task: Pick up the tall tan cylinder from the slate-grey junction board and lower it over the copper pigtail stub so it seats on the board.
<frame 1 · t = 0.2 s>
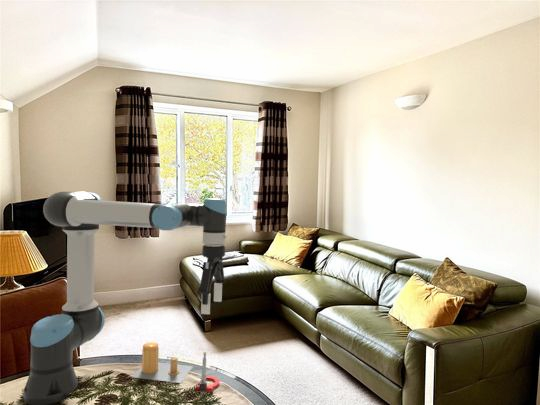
hand: (211, 307, 124), 28 cm above the table, fingers open, 13 cm apart
junction board: (163, 375, 131), on the table
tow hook: (206, 385, 126), on the table
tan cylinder: (149, 370, 132), point 1 cm above the table, touching junction board
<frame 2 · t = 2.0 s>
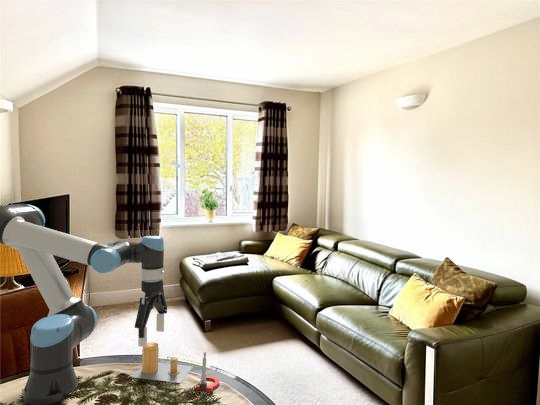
hand: (151, 338, 132), 13 cm above the table, fingers open, 13 cm apart
nothing on the table moved.
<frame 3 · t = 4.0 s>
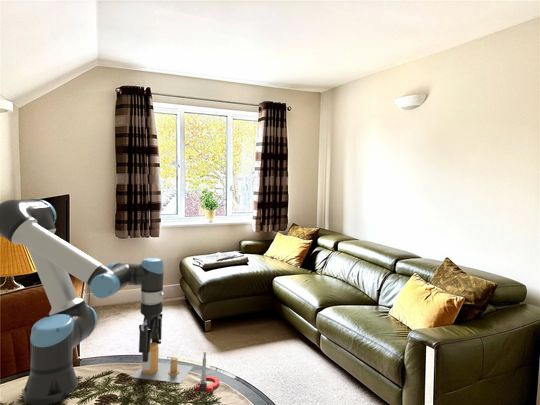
hand: (150, 365, 132), 3 cm above the table, fingers closed on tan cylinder, 5 cm apart
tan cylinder: (149, 369, 132), point 2 cm above the table, touching gripper, junction board
everything else where it was.
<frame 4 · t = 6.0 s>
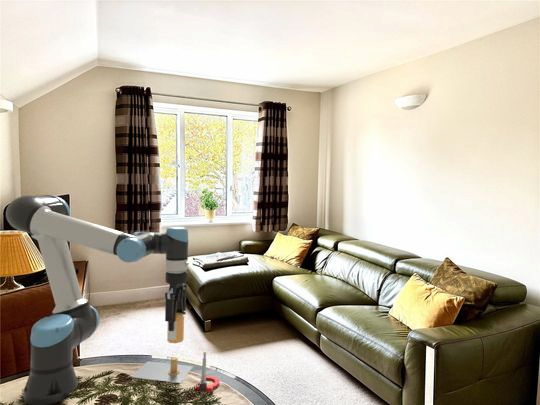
hand: (175, 335, 130), 15 cm above the table, fingers closed on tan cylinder, 5 cm apart
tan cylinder: (175, 340, 130), point 13 cm above the table, touching gripper
everything else where it was.
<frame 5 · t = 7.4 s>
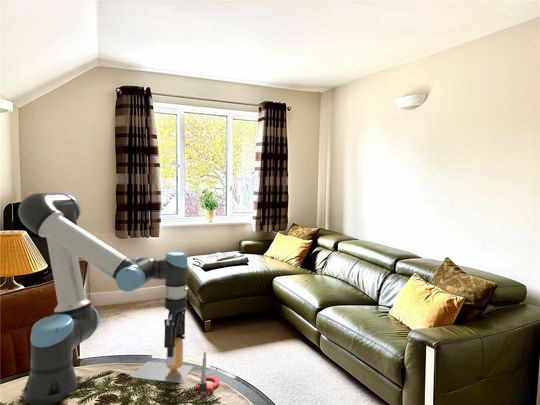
hand: (174, 361, 131), 6 cm above the table, fingers closed on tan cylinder, 5 cm apart
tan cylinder: (174, 365, 131), point 4 cm above the table, touching gripper
everything else where it was.
when the fingers open (4 cm above the table, at t = 8.4 s): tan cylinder stays where it is, resting on junction board.
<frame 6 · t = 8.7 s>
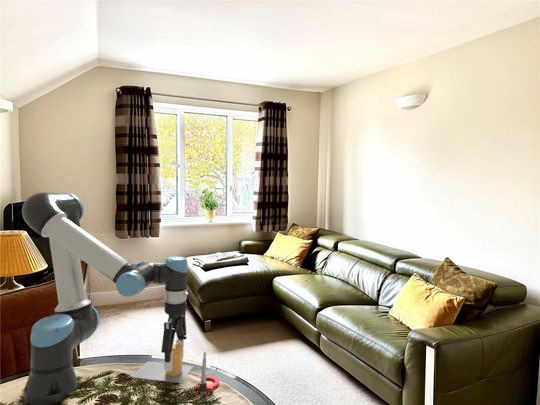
hand: (174, 363, 131), 5 cm above the table, fingers open, 9 cm apart
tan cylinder: (173, 372, 131), point 2 cm above the table, touching junction board
everything else where it was.
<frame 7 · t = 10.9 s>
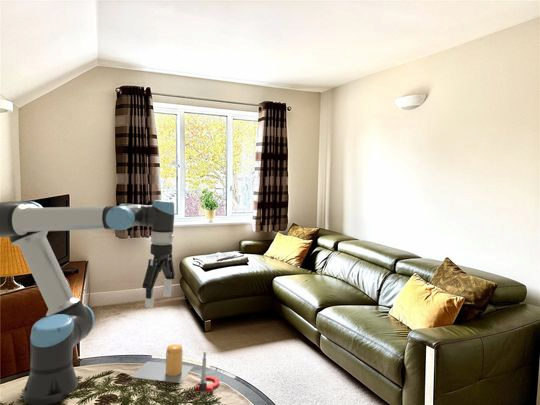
hand: (158, 301, 133), 26 cm above the table, fingers open, 13 cm apart
nothing on the table moved.
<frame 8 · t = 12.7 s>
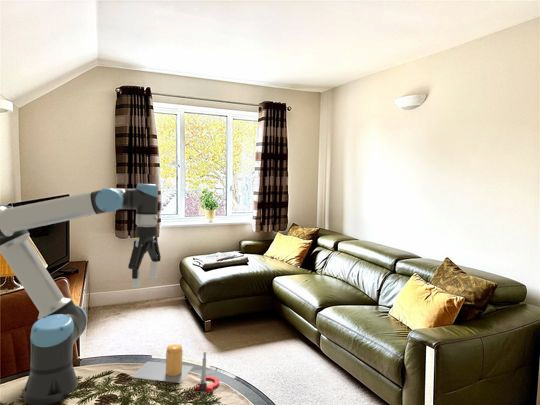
hand: (145, 282, 136), 32 cm above the table, fingers open, 13 cm apart
nothing on the table moved.
at the end: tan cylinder 0.0 cm from the target spot on the junction board, point 1.6 cm above the junction board's base; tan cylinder tilted 0°; the gripper is holding nothing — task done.
